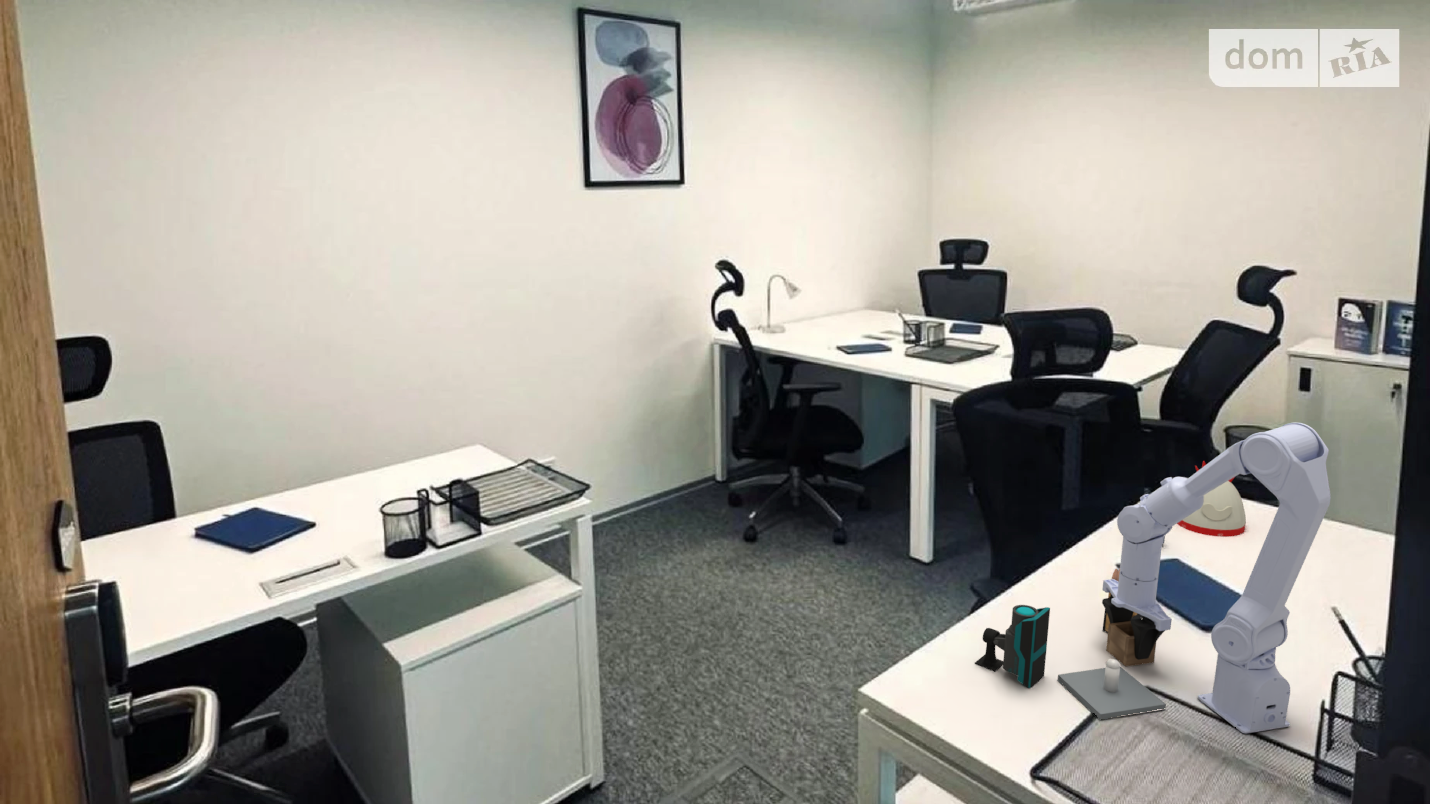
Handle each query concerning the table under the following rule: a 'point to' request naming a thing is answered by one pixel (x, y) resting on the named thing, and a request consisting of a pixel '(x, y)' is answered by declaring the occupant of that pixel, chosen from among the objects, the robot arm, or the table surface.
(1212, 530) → the kitchen timer
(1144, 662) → the walnut frame
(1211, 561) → the table surface
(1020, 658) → the surveillance camera
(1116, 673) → the gray peg stand
